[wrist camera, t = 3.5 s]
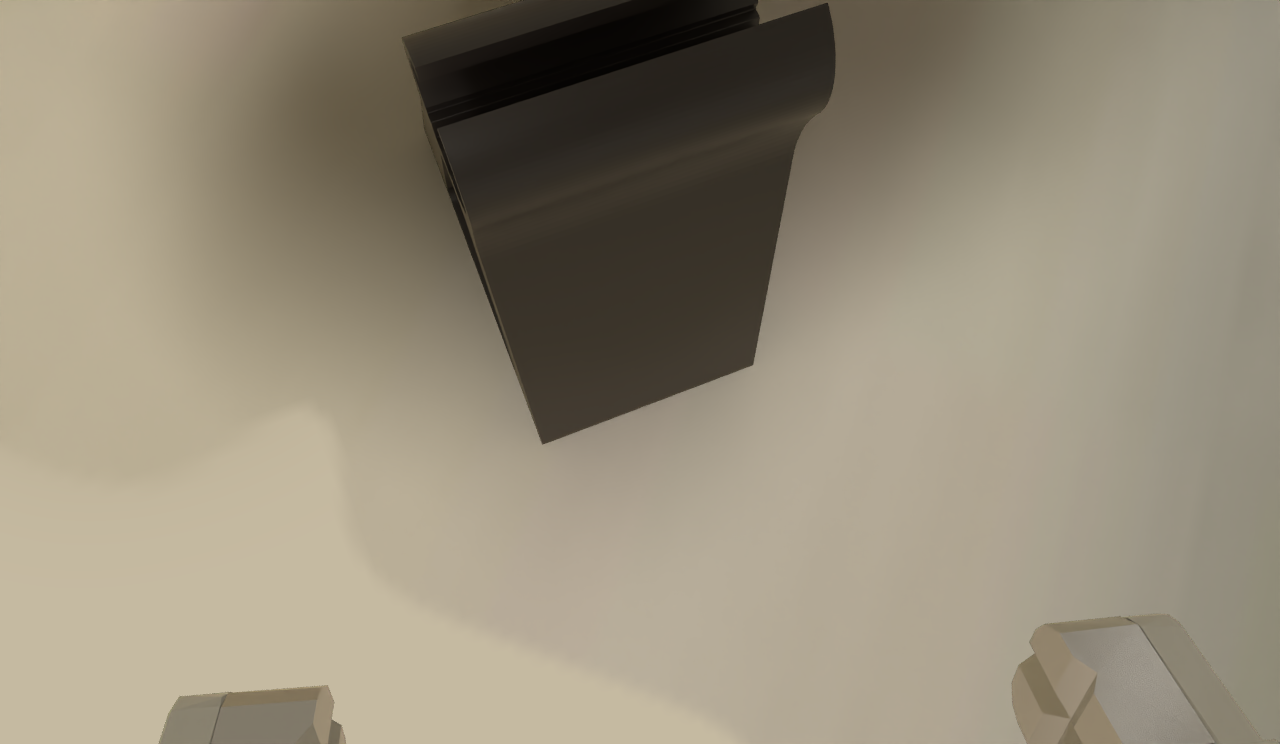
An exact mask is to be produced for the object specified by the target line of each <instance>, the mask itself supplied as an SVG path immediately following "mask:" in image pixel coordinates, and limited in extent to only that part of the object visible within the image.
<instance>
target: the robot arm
mask: <svg viewBox="0 0 1280 744" xmlns="http://www.w3.org/2000/svg"><path fill="white" fill-rule="evenodd" d="M1029 643H1030V645H1031V647H1032V649H1033V651H1034V652H1035V654H1033V655H1032V656H1030V657H1029V658H1028V659H1026V660H1025V661H1024V662H1022V663H1021V664H1019V665H1018V668H1017V670H1016V673H1015V675H1014V678H1013V681H1012V703H1013V708H1014V712H1015V715H1016V719H1017V722H1018V725H1019V727H1020V729H1021V731H1022V733H1023V736H1024V738H1025V740H1026V742H1027V744H1280V743H1279V742H1278V741H1276V740H1262V739H1261V737H1260V736H1259V734H1258V733H1257V732H1256V730H1255V729H1254V727H1253V726H1252V724H1251V723H1250V722H1249V720H1248V719H1247V717H1246V716H1245V714H1244V713H1243V712H1242V710H1241V709H1240V707H1239V706H1238V705H1237V703H1236V702H1235V700H1234V699H1233V697H1232V696H1231V695H1230V693H1229V692H1228V690H1227V689H1226V687H1225V686H1224V685H1223V683H1222V682H1221V680H1220V679H1219V678H1218V676H1217V675H1216V673H1215V672H1214V670H1213V669H1212V668H1211V666H1210V665H1209V663H1208V662H1207V660H1206V659H1205V658H1204V656H1203V655H1202V653H1201V652H1200V651H1199V649H1198V648H1197V646H1196V645H1195V643H1194V642H1193V641H1192V639H1191V638H1190V636H1189V635H1188V633H1187V632H1186V631H1185V629H1184V628H1183V626H1182V625H1181V624H1180V623H1179V622H1178V621H1177V620H1176V619H1174V618H1173V617H1171V616H1170V615H1168V614H1149V615H1139V616H1129V617H1121V616H1117V617H1107V618H1098V619H1088V620H1078V621H1069V622H1059V623H1049V624H1044V625H1042V626H1040V627H1039V628H1037V629H1036V630H1035V632H1034V634H1033V636H1032V638H1031V640H1030V642H1029ZM333 707H334V700H333V698H332V695H331V692H330V690H329V687H328V685H325V686H314V687H313V686H312V687H300V688H287V689H273V690H261V691H248V692H235V693H233V692H225V693H214V694H203V695H192V696H180V697H179V698H178V699H177V701H176V703H175V704H174V706H173V707H172V709H171V710H170V712H169V713H168V716H167V720H166V722H165V725H164V729H163V732H162V735H161V738H160V741H159V744H346V740H345V736H344V732H343V729H342V726H341V725H340V724H338V723H337V722H335V721H333V720H332V713H333Z"/></svg>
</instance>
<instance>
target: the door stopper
mask: <svg viewBox="0 0 1280 744" xmlns="http://www.w3.org/2000/svg"><path fill="white" fill-rule="evenodd" d="M757 4H758V0H523V1H519V2H516V3H513V4H510V5H506V6H503V7H500V8H496V9H493V10H490V11H487V12H483V13H480V14H477V15H474V16H470V17H467V18H464V19H461V20H457V21H454V22H451V23H447V24H444V25H441V26H438V27H434V28H431V29H428V30H425V31H421V32H418V33H415V34H412V35H408V36H405V37H402V41H403V45H404V48H405V51H406V54H407V57H408V60H409V63H410V66H411V69H412V72H413V75H414V78H415V81H416V84H417V88H418V91H419V94H420V98H421V105H422V113H423V121H424V129H425V132H426V134H427V137H428V140H429V143H430V145H431V148H432V151H433V153H434V156H435V159H436V161H437V164H438V167H439V169H440V172H441V175H442V177H443V180H444V183H445V185H446V188H447V191H448V193H449V196H450V199H451V201H452V204H453V207H454V209H455V212H456V215H457V217H458V220H459V223H460V225H461V228H462V231H463V234H464V236H465V239H466V242H467V244H468V247H469V250H470V252H471V255H472V258H473V260H474V263H475V266H476V268H477V271H478V274H479V276H480V279H481V281H482V284H483V287H484V289H485V292H486V295H487V298H488V300H489V303H490V306H491V308H492V311H493V314H494V316H495V319H496V322H497V324H498V327H499V330H500V332H501V335H502V338H503V340H504V343H505V346H506V348H507V351H508V354H509V356H510V359H511V362H512V365H513V367H514V370H515V373H516V375H517V378H518V381H519V383H520V386H521V389H522V391H523V394H524V397H525V399H526V402H527V405H528V407H529V410H530V413H531V415H532V418H533V421H534V423H535V426H536V429H537V431H538V434H539V437H540V439H541V442H542V444H546V443H548V442H551V441H554V440H556V439H559V438H561V437H564V436H567V435H569V434H572V433H575V432H577V431H580V430H583V429H585V428H588V427H591V426H593V425H596V424H598V423H601V422H604V421H606V420H609V419H612V418H614V417H617V416H620V415H622V414H625V413H628V412H630V411H633V410H635V409H638V408H641V407H643V406H646V405H649V404H651V403H654V402H657V401H659V400H662V399H664V398H667V397H670V396H672V395H675V394H678V393H680V392H683V391H686V390H688V389H691V388H694V387H696V386H699V385H701V384H704V383H707V382H709V381H712V380H715V379H717V378H720V377H723V376H725V375H728V374H730V373H733V372H736V371H738V370H741V369H744V368H746V367H749V366H752V365H753V362H754V357H755V352H756V347H757V341H758V336H759V331H760V326H761V321H762V315H763V310H764V305H765V300H766V294H767V289H768V284H769V279H770V274H771V268H772V263H773V258H774V253H775V247H776V242H777V237H778V232H779V227H780V221H781V216H782V211H783V206H784V201H785V195H786V190H787V185H788V180H789V174H790V169H791V164H792V159H793V154H794V150H795V146H796V143H797V140H798V138H799V135H800V133H801V131H802V130H803V128H804V127H805V125H806V124H807V123H808V121H809V120H810V119H811V118H813V117H814V116H815V115H817V114H818V113H820V112H821V111H822V110H823V109H824V108H825V106H826V105H827V103H828V101H829V98H830V96H831V92H832V89H833V84H834V77H835V41H834V32H833V25H832V20H831V15H830V10H829V6H828V3H825V4H822V5H819V6H816V7H813V8H810V9H807V10H804V11H800V12H797V13H794V14H791V15H788V16H785V17H782V18H779V19H776V20H772V21H769V22H766V23H763V24H760V25H759V19H760V17H759V15H758V13H757V11H756V6H757Z"/></svg>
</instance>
